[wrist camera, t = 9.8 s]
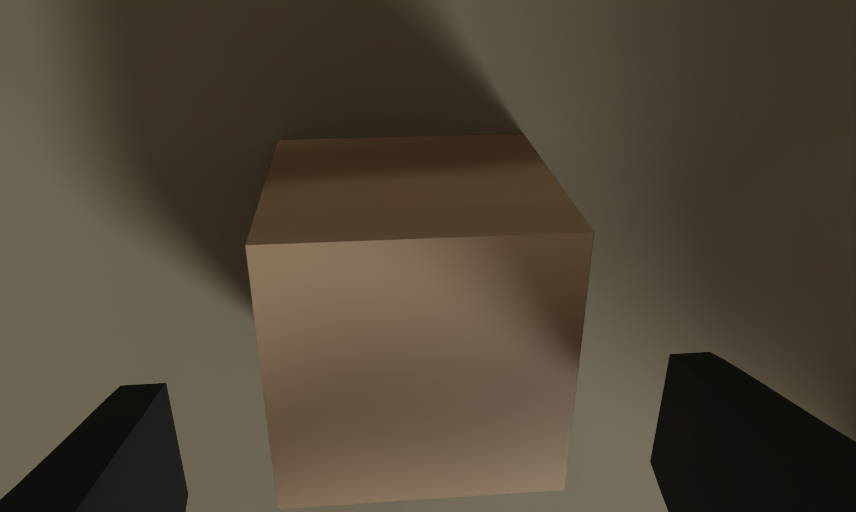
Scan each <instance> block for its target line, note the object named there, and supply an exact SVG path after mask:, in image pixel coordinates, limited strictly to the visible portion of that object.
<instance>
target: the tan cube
mask: <svg viewBox="0 0 856 512" xmlns="http://www.w3.org/2000/svg"><path fill="white" fill-rule="evenodd" d="M593 238H594V231H593V230H592V229H591V227H590V226H589V224H588V223H587V222H586V220H585V219H584V217H583V216H582V215H581V213H580V212H579V210H578V209H577V208H576V206H575V205H574V203H573V202H572V201H571V199H570V198H569V197H568V195H567V194H566V192H565V191H564V190H563V188H562V187H561V185H560V184H559V183H558V181H557V180H556V178H555V177H554V176H553V174H552V173H551V171H550V170H549V169H548V167H547V166H546V165H545V163H544V162H543V160H542V159H541V158H540V156H539V155H538V153H537V152H536V151H535V149H534V148H533V146H532V145H531V144H530V142H529V141H528V139H527V138H526V137H525V135H524V134H484V135H446V136H408V137H369V138H331V139H293V140H278V142H277V145H276V148H275V151H274V155H273V158H272V161H271V164H270V167H269V171H268V174H267V177H266V180H265V184H264V187H263V190H262V193H261V196H260V200H259V203H258V206H257V209H256V212H255V216H254V219H253V222H252V225H251V229H250V232H249V235H248V238H247V241H246V245H245V247H246V255H247V263H248V271H249V280H250V288H251V296H252V304H253V312H254V320H255V328H256V336H257V345H258V353H259V361H260V369H261V377H262V385H263V393H264V401H265V410H266V418H267V426H268V434H269V442H270V450H271V458H272V466H273V475H274V483H275V491H276V499H277V507H278V509H288V508H302V507H317V506H332V505H347V504H361V503H376V502H391V501H406V500H421V499H435V498H450V497H465V496H480V495H495V494H509V493H524V492H539V491H554V490H565V481H566V472H567V464H568V455H569V446H570V438H571V429H572V420H573V412H574V403H575V394H576V385H577V377H578V368H579V359H580V351H581V342H582V333H583V325H584V316H585V307H586V299H587V290H588V281H589V272H590V264H591V255H592V246H593Z"/></svg>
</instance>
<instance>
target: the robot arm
mask: <svg viewBox="0 0 856 512" xmlns="http://www.w3.org/2000/svg"><path fill="white" fill-rule="evenodd" d="M650 462H651V465H652V468H653V471H654V473H655V476H656V479H657V482H658V485H659V488H660V490H661V493H662V496H663V499H664V501H665V504H666V506H667V509H668V511H669V512H856V442H855V441H853V440H851V439H850V438H848V437H847V436H845V435H843V434H842V433H840V432H838V431H837V430H835V429H834V428H832V427H830V426H829V425H827V424H826V423H824V422H822V421H821V420H819V419H818V418H816V417H814V416H813V415H811V414H810V413H808V412H806V411H805V410H803V409H802V408H800V407H799V406H797V405H795V404H794V403H792V402H791V401H789V400H788V399H786V398H784V397H783V396H781V395H780V394H778V393H777V392H775V391H774V390H772V389H770V388H769V387H767V386H766V385H764V384H763V383H761V382H759V381H758V380H756V379H755V378H753V377H751V376H750V375H748V374H747V373H745V372H744V371H742V370H740V369H739V368H737V367H735V366H734V365H732V364H730V363H729V362H727V361H725V360H724V359H722V358H720V357H718V356H716V355H715V354H713V353H711V352H702V353H684V354H670V357H669V362H668V368H667V373H666V379H665V384H664V390H663V395H662V401H661V406H660V412H659V417H658V422H657V428H656V433H655V439H654V444H653V450H652V455H651V461H650ZM187 498H188V491H187V486H186V481H185V476H184V471H183V466H182V461H181V456H180V451H179V446H178V441H177V436H176V431H175V426H174V421H173V416H172V411H171V406H170V401H169V396H168V390H167V385H166V383H159V384H142V385H124V386H120V387H119V388H118V389H117V390H115V391H114V392H113V393H112V394H111V395H110V396H109V397H108V398H107V399H106V400H105V401H104V402H103V403H102V404H101V405H100V406H99V407H98V408H96V409H95V410H94V411H93V412H92V413H91V414H90V415H89V416H88V417H87V418H86V419H85V420H84V421H83V422H82V423H81V424H80V425H79V426H78V427H77V428H76V429H75V430H74V431H73V432H72V433H71V434H70V435H69V436H68V437H67V438H66V439H65V440H64V441H63V442H62V443H61V444H60V445H59V446H58V447H56V448H55V449H54V450H53V451H52V452H51V453H50V454H49V455H48V456H47V457H46V458H45V459H44V460H43V461H42V462H41V463H40V464H38V465H37V466H36V467H35V468H34V469H33V470H32V471H31V472H30V473H29V474H28V475H27V476H26V477H25V478H24V479H23V480H21V481H20V482H19V483H18V484H17V485H16V486H15V487H14V488H13V489H12V490H11V491H10V492H9V493H7V494H6V495H5V496H4V497H3V498H2V499H0V512H185V511H186V504H187Z"/></svg>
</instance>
